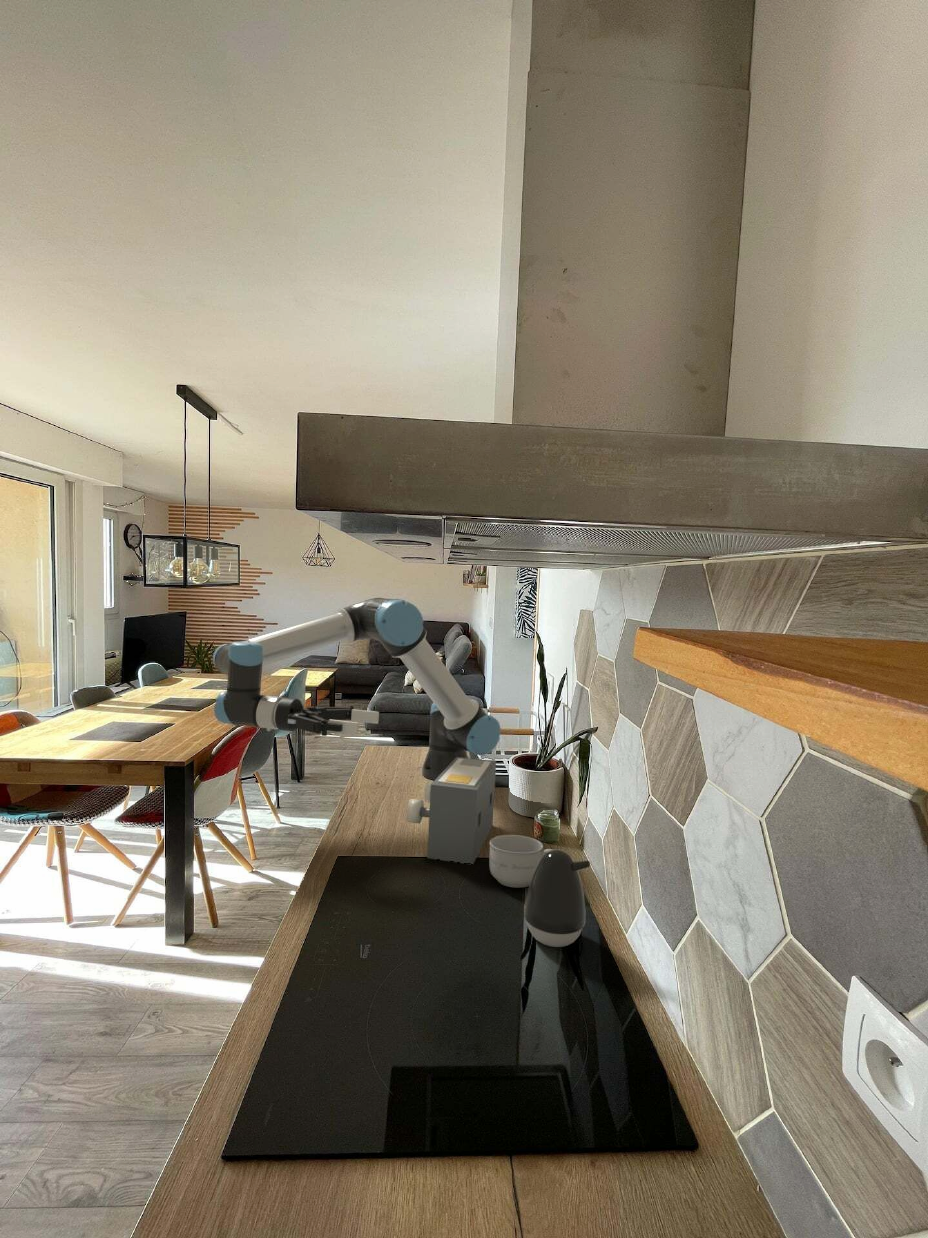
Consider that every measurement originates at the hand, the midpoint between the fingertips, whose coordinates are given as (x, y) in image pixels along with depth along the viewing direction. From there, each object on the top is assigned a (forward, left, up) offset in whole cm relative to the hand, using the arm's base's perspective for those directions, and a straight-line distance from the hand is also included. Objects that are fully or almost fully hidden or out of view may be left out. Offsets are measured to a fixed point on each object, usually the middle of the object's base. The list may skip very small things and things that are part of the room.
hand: (368, 723), depth 147 cm
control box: (-7, +22, -27) cm, 35 cm away
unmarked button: (-14, +14, -21) cm, 29 cm away
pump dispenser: (+29, +46, -27) cm, 60 cm away
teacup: (+10, +38, -27) cm, 47 cm away
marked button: (0, +14, -21) cm, 26 cm away
